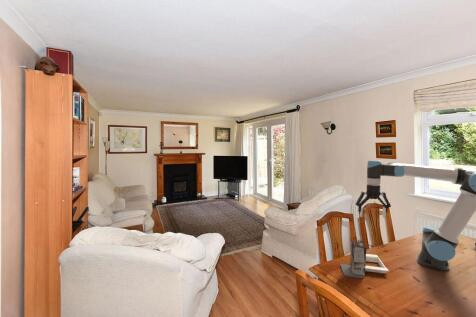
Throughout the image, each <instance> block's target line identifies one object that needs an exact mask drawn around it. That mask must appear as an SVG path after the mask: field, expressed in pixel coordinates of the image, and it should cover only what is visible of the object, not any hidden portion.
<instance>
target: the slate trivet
mask: <svg viewBox="0 0 476 317" xmlns="http://www.w3.org/2000/svg"><path fill="white" fill-rule="evenodd" d="M339 267H340V268H341V271H342V274H343V275H344V277H348V278H349V277H351V278H358V279H364V277H365V276H364V275H358V274H353V272H352V269H351V267H350V264H344V263H340V264H339Z"/></svg>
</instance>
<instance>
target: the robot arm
mask: <svg viewBox="0 0 476 317" xmlns="http://www.w3.org/2000/svg"><path fill="white" fill-rule="evenodd" d="M366 164H367V165H366V190H365V191H361V192H360V195H359V196H358V199H357V200H356V202H355V205H356V206H357V207H358V209H357V210H358V212H359V217H360V218H363V214H364V212H363V208H364V207H363V206H364V205H365V203H367V202H368V201H369V200H378V202H379V203H381V205H382V206H383V207H382V218H383V219H386V218H387V217H386V216H387V213H388V210H389V208H391V207H392V205H391V203H390V202H389V199H388V197H387V193H386V192H384V191H382V192H381V177H382V176H383V177H394V178H395V177H396V178H398V177H399V178H401V177H402V178H403V177H413V178H420V179H428V180H435V181H442V182H451V183H452V184H454V185H459V186H460V187H459V191H460V194H459V196H458V198H456V201H455V202H454V204H453V205H452V207H451V208H450V211H448V213H447V215H446V216H445V218H444V220H443V222H442V223H441V225H440V227H439V228H438V227H433V226H432V227H431V226H424V227H423V228H422V240H421V250H420V251H419V254H418V255H417V259H416V261H417V263H419V264H420V265H421V266H423V267H425V268H428V269H432V270H435V271H448V270H449V267H450V265H449V264H450V263H449V261H451V260H452V259H454V258H455V257H456V248H457V247H458V245H459V244H460V242H459V238H460V237H459V236H461V234H462V232H463V230H464V229H465V227H466V226H467V225H468V223H469V221H470V220H471V218H472V217H473V215H474V214H475V212H476V168H466V167H465V168H462V167H461V168H460V167H455V168H445V167H437V166H436V167H435V166H427V165H416V164H409V163H399V162H393V161H392V162H388V163H382V161H381V160H376V159H375V160H373V159H371V160H368V161H367V163H366ZM365 195H366V196H365ZM364 196H365V198H364ZM380 196H382V197H383V200H384V201H383V200H382V198H381V197H380ZM363 198H364V199H363Z"/></svg>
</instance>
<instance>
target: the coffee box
mask: <svg viewBox="0 0 476 317" xmlns="http://www.w3.org/2000/svg"><path fill="white" fill-rule="evenodd" d="M366 254H367V246H366V245H365V244H364V242H363V241H358V240H357V241H356V240H351V241H350V259H349V260H350V263H349V265H350V267H351V269H352V272H353V274H358V275H363V276H366V275H365V274H366V271H365V266H366V263H367V261H366Z"/></svg>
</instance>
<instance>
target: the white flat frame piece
mask: <svg viewBox="0 0 476 317" xmlns="http://www.w3.org/2000/svg"><path fill="white" fill-rule="evenodd" d="M366 262H369V263H378V265H379V266H371V265H365V272H372V273H379V274H387V272H390V271H389V269H388V268H387V267H386V266H385V265H384V263H383V261H382V260H381V259H380V258H379V256H378V255H377V254H369V253H366Z"/></svg>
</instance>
